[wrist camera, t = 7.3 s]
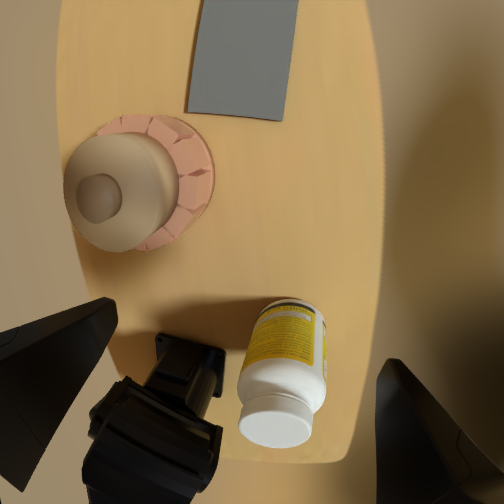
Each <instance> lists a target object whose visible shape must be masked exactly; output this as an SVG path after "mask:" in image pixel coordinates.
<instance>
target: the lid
mask: <svg viewBox="0 0 504 504" xmlns="http://www.w3.org/2000/svg"><path fill="white" fill-rule="evenodd" d="M63 188H64V199H65V204H66V208H67V211H68V214H69V216H70V219H71V221H72V222H73V224H74V226H75V227H76V229H77V230H78V232H79V233H80V234H81V235H82V236H83V237H84V238H85V239H86V240H87V241H88V242H89V243H90V244H92V245H94V246H95V247H97V248H99V249H101V250H104V251H107V252H117V253H119V252H125V251H128V250H131V249H133V248H134V247H136V246H137V245H139V244H140V243H141V242H143V241H144V240H145V239H147V238H148V237H149V236H151V235H152V234H153V233H155V232H156V231H157V230H159V229H160V228H161V227H163V226H164V225H165V224H166V223H167V222H168V221H169V219H170V218H171V216H172V215H173V213H174V211H175V208H176V206H177V202H178V198H179V176H178V172H177V168H176V166H175V163H174V161H173V159H172V157H171V155H170V154H169V152H168V151H167V149H166V148H165V147H164V146H163V145H162V144H161V143H160V142H159V141H158V140H156V139H155V138H153V137H151V136H149V135H147V134H144V133H140V132H124V133H115V134H107V135H99V136H95V137H92V138H90V139H88V140H86V141H85V142H83V143H82V144H81V145H80V146H79V147H78V148H77V149H76V150H75V151H74V153H73V154H72V156H71V158H70V160H69V162H68V164H67V167H66V170H65V175H64V184H63Z"/></svg>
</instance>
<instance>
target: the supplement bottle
mask: <svg viewBox="0 0 504 504" xmlns="http://www.w3.org/2000/svg"><path fill="white" fill-rule="evenodd" d="M237 391H238V396H239V398H240V400H241V402H242V404H243V405H244V406H243V407H242V410H241V415H240V419H239V423H238V427H239V430H240V432H241V434H242V435H243V436H244V437H246V438H247V439H248V440H250V441H252V442H253V443H256V444H258V445H262V446H266V447H271V448H289V447H294V446H297V445H300V444H302V443H304V442H305V441H306V440H307V439H308V438H309V437H310V435H311V431H312V421H313V414H314V413H315V412H316V411H317V410H318V409H319V408H320V407H321V405H322V404H323V402H324V399H325V395H326V325H325V321H324V318H323V316H322V314H321V313H320V312H319V311H318V310H317V309H316V308H315V307H314V306H312V305H311V304H309V303H307V302H304V301H301V300H297V299H283V300H278V301H275V302H273V303H271V304H269V305H268V306H266V307H265V308H264V309H263V310H262V311H261V313H260V314H259V316H258V318H257V320H256V323H255V326H254V329H253V333H252V336H251V339H250V343H249V346H248V349H247V353H246V356H245V360H244V363H243V366H242V369H241V372H240V376H239V380H238V385H237Z"/></svg>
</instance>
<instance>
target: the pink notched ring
mask: <svg viewBox="0 0 504 504" xmlns="http://www.w3.org/2000/svg"><path fill="white" fill-rule="evenodd" d="M124 132H140V133H144V134H147V135H149V136H151V137H153V138H155V139H156V140H158V141H159V142H160V143H161V144H162V145H163V146H164V147H165V148H166V149H167V151H168V152H169V154H170V155H171V157H172V159H173V161H174V163H175V166H176V168H177V172H178V176H179V198H178V202H177V206H176V208H175V211H174V213H173V215H172V216H171V218H170V219H169V221H168V222H167V223H166V224H165V225H164V226H163V227H161V228H160V229H159V230H157V231H156V232H155V233H153V234H152V235H151V236H149V237H148V238H147V239H145V240H144V241H143V242H141V243H140V244H139V245H137V246H136V247H134V248H133V249H135V250H140V251H144V252H145V251H147V250H148V249H149V251H152V250H154V249H157V248H159V247H162V246H165V245H167V244H170V243H172V242H174V241H175V240H176V239H178V238H179V237H180V236H181V235H182V234H183V233H184V232H185V231H187V230H188V229H189V228H190V227H191V226H192V225H193V224H194V222H195V221H196V220H197V219H198V218H199V217H200V216H201V215H202V213H203V212H204V211H205V209H206V208H207V206H208V204H209V202H210V200H211V197H212V194H213V191H214V185H215V167H214V162H213V157H212V155H211V152H210V149H209V147H208V145H207V143H206V142H205V140H204V139H203V137H202V136H201V135H200V134H199V133H198V132H197V130H196V129H194V128H193V127H192V126H191V125H189V124H188V123H186V122H184V121H182V120H180V119H178V118H174V117H171V116H162V115H122V117H117V118H115V119H114V120H113V121H111V122H110V123H108V124H107V125H106V126H104V127H103V128H101V129H100V130H99V131H97V132H96V133H97V136H99V135H107V134H115V133H124ZM93 137H95V136H93Z"/></svg>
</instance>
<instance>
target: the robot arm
mask: <svg viewBox="0 0 504 504" xmlns="http://www.w3.org/2000/svg"><path fill="white" fill-rule="evenodd" d="M117 324H118V314H117V308H116V302H115V301H114V300H113V299H110V298H107V297H102V298H100V299H97V300H94V301H91V302H88V303H85V304H82V305H79V306H76V307H73V308H71V309H68V310H65V311H62V312H59V313H56V314H53V315H50V316H47V317H44V318H42V319H39V320H36V321H33V322H30V323H27V324H24V325H21V326H20V327H16V328H13V329H10V330H7V331H4V332H1V333H0V475H1V476H2V477H3V478H5V479H6V480H7V481H8V482H9V483H10V484H12V485H13V486H14V487H16V488H17V489H18V490H19V491H20V492H23V491H24V490H25V488H26V486H27V484H28V482H29V480H30V478H31V476H32V474H33V472H34V470H35V468H36V466H37V464H38V463H39V461H40V459H41V457H42V455H43V453H44V452H45V450H46V449H45V448H46V447H47V446H48V444H49V442H50V440H51V439H52V437H53V435H54V433H55V431H56V430H57V428H58V426H59V425H60V423H61V421H62V419H63V418H64V416H65V414H66V413H67V411H68V409H69V408H70V406H71V404H72V403H73V401H74V399H75V398H76V396H77V395H78V393H79V391H80V390H81V388H82V386H83V385H84V383H85V382H86V380H87V379H88V377H89V375H90V374H91V372H92V371H93V369H94V368H95V366H96V364H97V363H98V361H99V359H100V358H101V356H102V354H103V352H104V350H105V348H106V346H107V344H108V342H109V340H110V338H111V336H112V335H113V333H114V331H115V329H116V327H117ZM155 342H156V352H157V363H156V365H155V366H154V368H153V369H152V371H151V373H150V374H149V376H148V378H147V379H146V381H145V382H144V384H143V386H141V385H139V384H138V383H136V382H135V381H133V380H132V378H130V377H128V376H127V375H126V377H125V378H124V379H123V380H122V381H119V382H115V383H114V385H113V386H112V388H111V389H110V391H109V392H108V393H107V394H106V395H105V397H103V398H102V400H100V401H99V402H98V403H97V404H96V405H95V406H94V407H93V408H92V409H91V410H90V412H89V417H90V420H91V423H90V429H89V432H88V436H89V437H90V438H92V439H93V440H94V441H93V443H92V445H91V447H90V449H89V451H88V453H87V454H86V456H85V458H84V461H83V466H82V481H83V483H84V484H85V485H86V487H87V493H88V499H89V504H190V502H191V501H192V499H193V497H194V496H195V494H196V493H201V492H203V490H205V488H206V487H207V486H208V484H209V483H210V481H211V480H212V477H213V476H214V473H215V471H216V468H217V465H218V459H219V453H220V446H221V440H222V433H223V427H221V426H219V425H214V424H212V423H210V422H208V421H206V420H203V418H204V416H205V413H206V410H207V408H208V405H209V403H210V400H211V397H216V398H220V397H221V395H222V392H223V382H224V371H225V361H226V352H225V351H224V350H222V349H219V348H215V347H211V346H207V345H203V344H199V343H195V342H192V341H188V340H184V339H181V338H177V337H173V336H170V335H166V334H163V333H158V334H157V335H156V337H155ZM219 354H221V355H219ZM375 408H376V409H375V437H376V464H377V465H376V466H377V467H376V469H377V491H376V504H504V473H503V471H501V469H499V467H497V465H495V464H494V463H493V462H492V461H491V460H490V459H489V458H488V457H487V456H486V455H485V454H484V453H483V452H482V451H481V450H480V449H479V448H478V446H477V445H476V444H475V443H474V442H473V441H472V440H471V439H470V438H469V437H468V435H467V434H466V433H465V432H464V431H463V430H462V429H460V426H459V425H458V424H457V423H456V421H455V420H454V419H453V418H452V417H451V416H450V415H449V413H447V411H446V410H445V409H444V408H443V407H442V406H441V404H440V403H439V402H438V401H437V400H436V399H435V397H434V396H433V395H432V394H431V393H430V392H429V391H428V390H427V389H426V387H425V386H424V385H423V384H422V383H421V382H420V381H419V380H418V379H417V377H415V375H414V374H413V373H412V372H411V371H410V370H409V369H408V367H407V366H406V365H405V364H404V363H403V362H402V361H401V360H400V359H395V358H388V359H387V360H386V361H385V364H384V365H383V367H382V369H381V371H380V373H379V375H378V377H377V382H376V407H375ZM0 504H1V500H0Z"/></svg>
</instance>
